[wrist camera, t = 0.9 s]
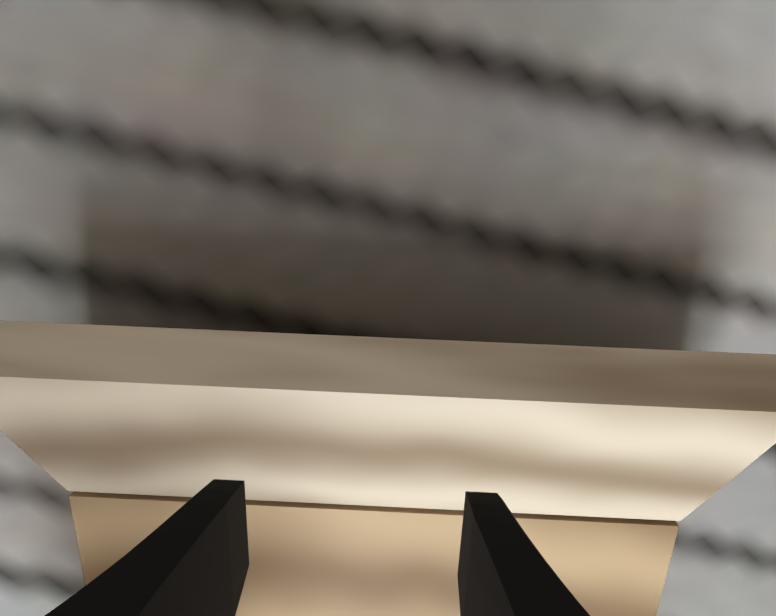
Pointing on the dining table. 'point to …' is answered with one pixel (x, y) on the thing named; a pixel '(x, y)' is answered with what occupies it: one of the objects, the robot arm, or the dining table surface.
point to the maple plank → (384, 418)
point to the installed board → (388, 555)
